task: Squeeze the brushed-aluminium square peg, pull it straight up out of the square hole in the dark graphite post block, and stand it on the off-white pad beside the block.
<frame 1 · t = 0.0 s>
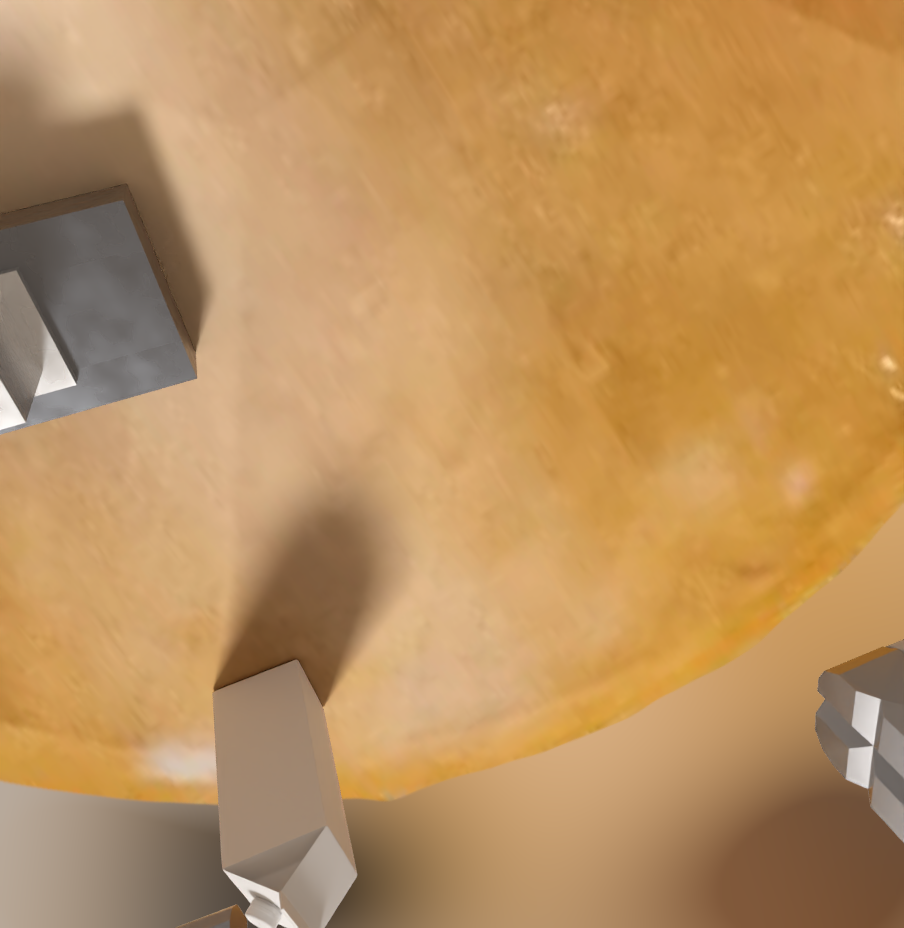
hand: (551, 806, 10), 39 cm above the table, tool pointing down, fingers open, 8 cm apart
post block: (16, 312, 41), on the table
milk carton: (269, 697, 62), on the table
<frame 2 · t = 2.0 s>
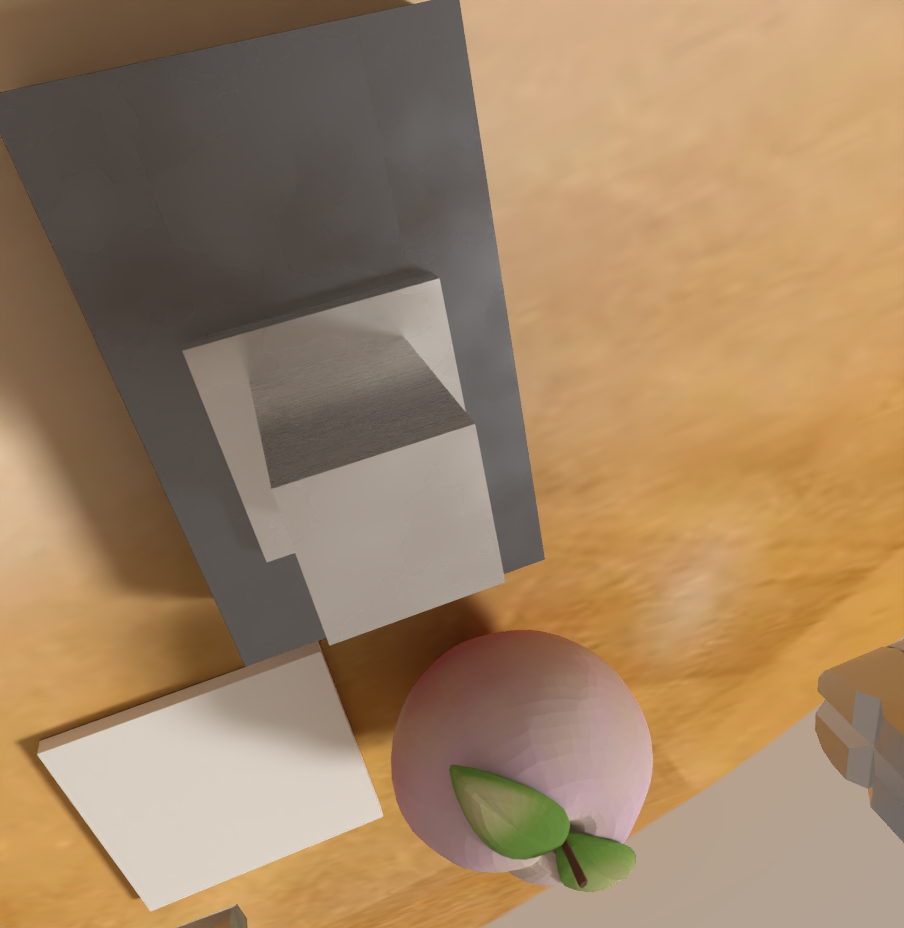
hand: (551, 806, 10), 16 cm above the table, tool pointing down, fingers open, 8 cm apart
pad: (229, 776, 29), on the table
peg: (324, 375, 23), resting in post block
decorative fruit: (477, 651, 31), on the table
post block: (314, 344, 23), on the table
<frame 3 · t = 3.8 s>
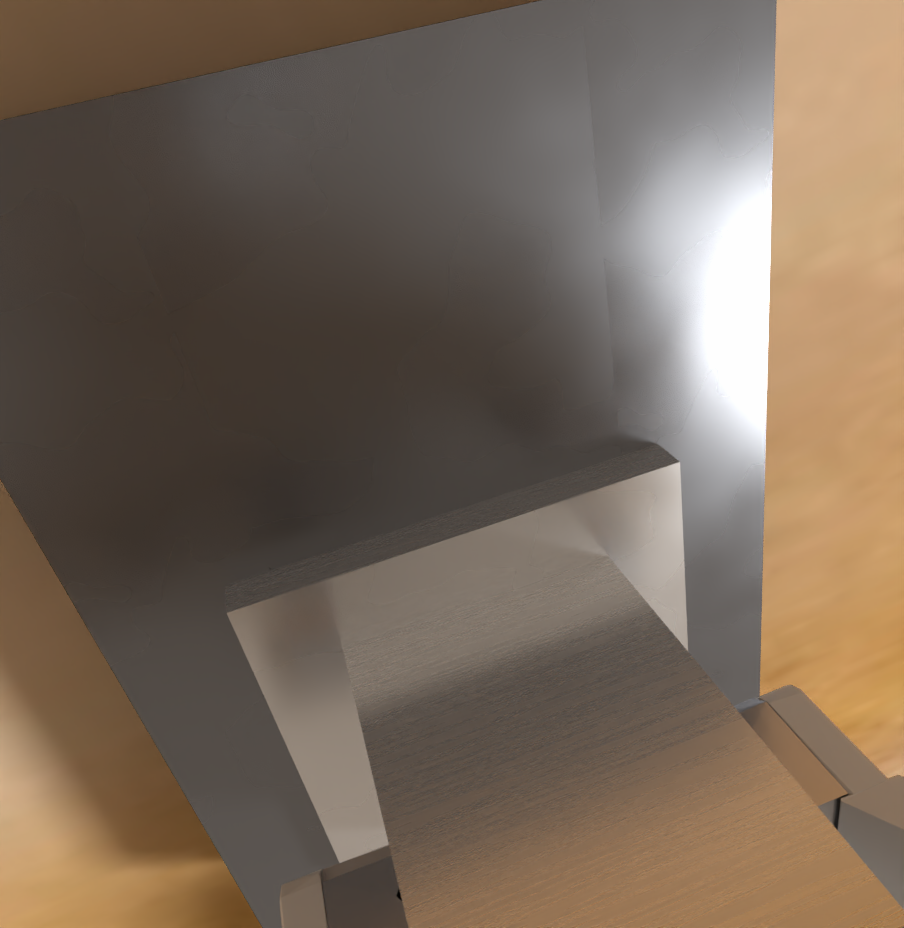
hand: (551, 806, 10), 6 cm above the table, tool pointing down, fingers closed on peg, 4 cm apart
peg: (434, 557, 15), resting in post block, touching gripper
post block: (423, 514, 15), on the table
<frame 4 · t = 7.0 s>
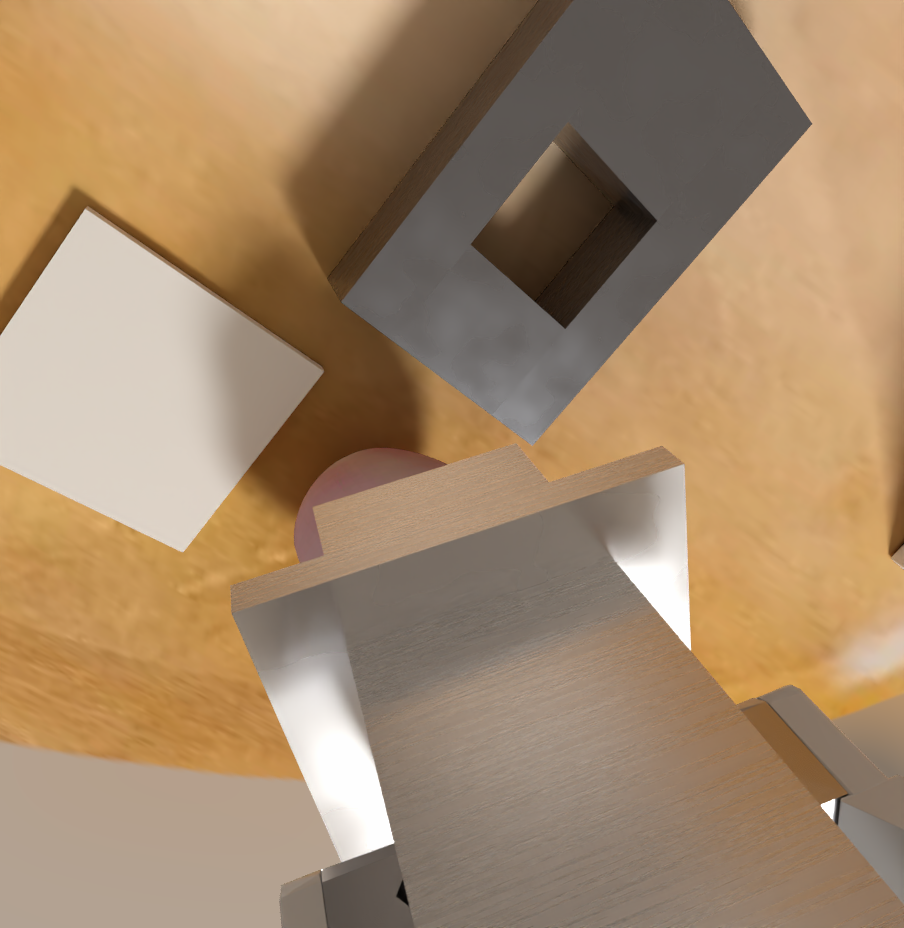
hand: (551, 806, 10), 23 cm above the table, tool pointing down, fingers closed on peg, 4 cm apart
pad: (141, 395, 29), on the table
peg: (437, 558, 15), point 17 cm above the table, touching gripper
decorative fruit: (376, 494, 34), on the table
post block: (547, 196, 30), on the table
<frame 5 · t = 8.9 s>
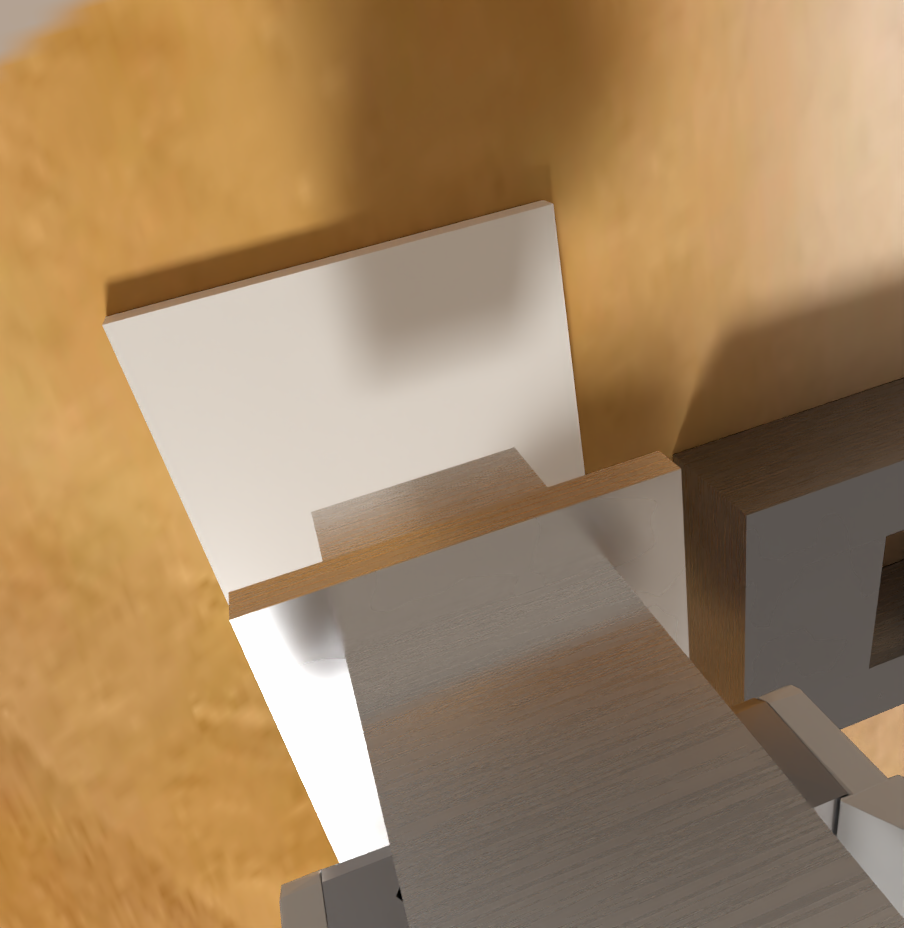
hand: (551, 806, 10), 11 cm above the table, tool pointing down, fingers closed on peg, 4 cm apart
pad: (386, 448, 19), on the table
peg: (436, 562, 15), point 5 cm above the table, touching gripper
post block: (889, 509, 26), on the table
when the fingers open (8 cm above the table, at t = 10.2 s): peg drops 1 cm, resting on pad.
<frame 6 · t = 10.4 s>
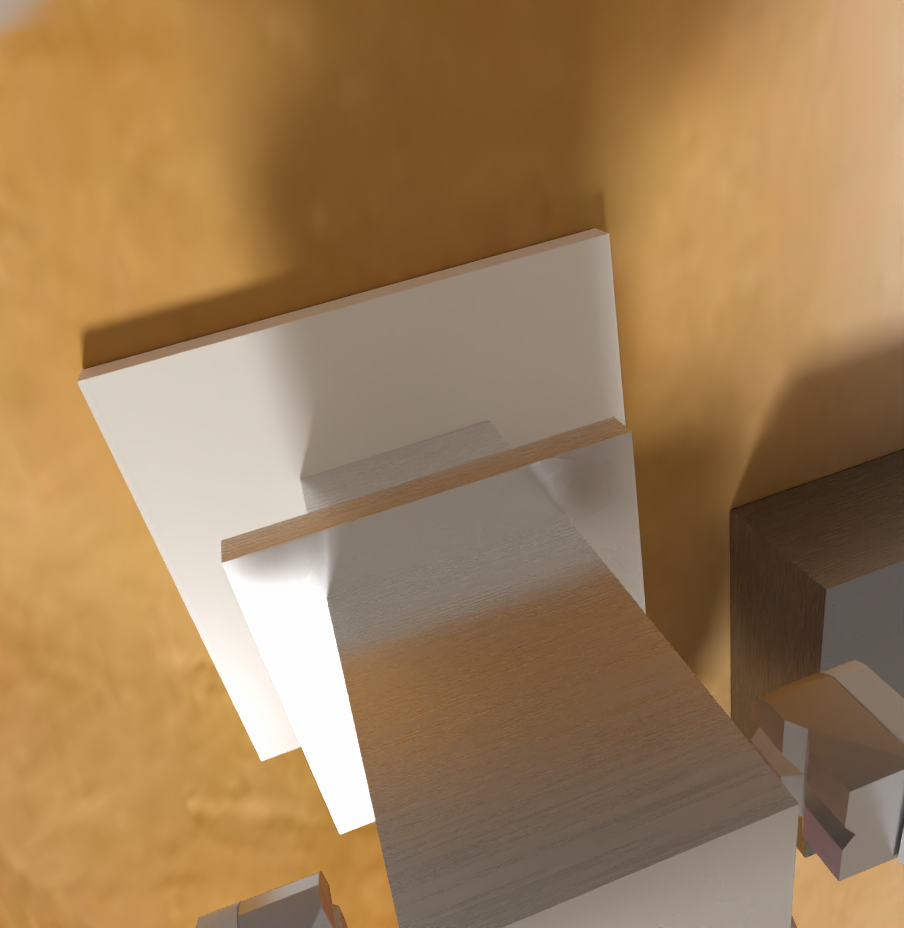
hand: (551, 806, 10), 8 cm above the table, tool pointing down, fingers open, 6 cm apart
pad: (410, 511, 17), on the table
peg: (417, 528, 16), point 1 cm above the table, touching pad
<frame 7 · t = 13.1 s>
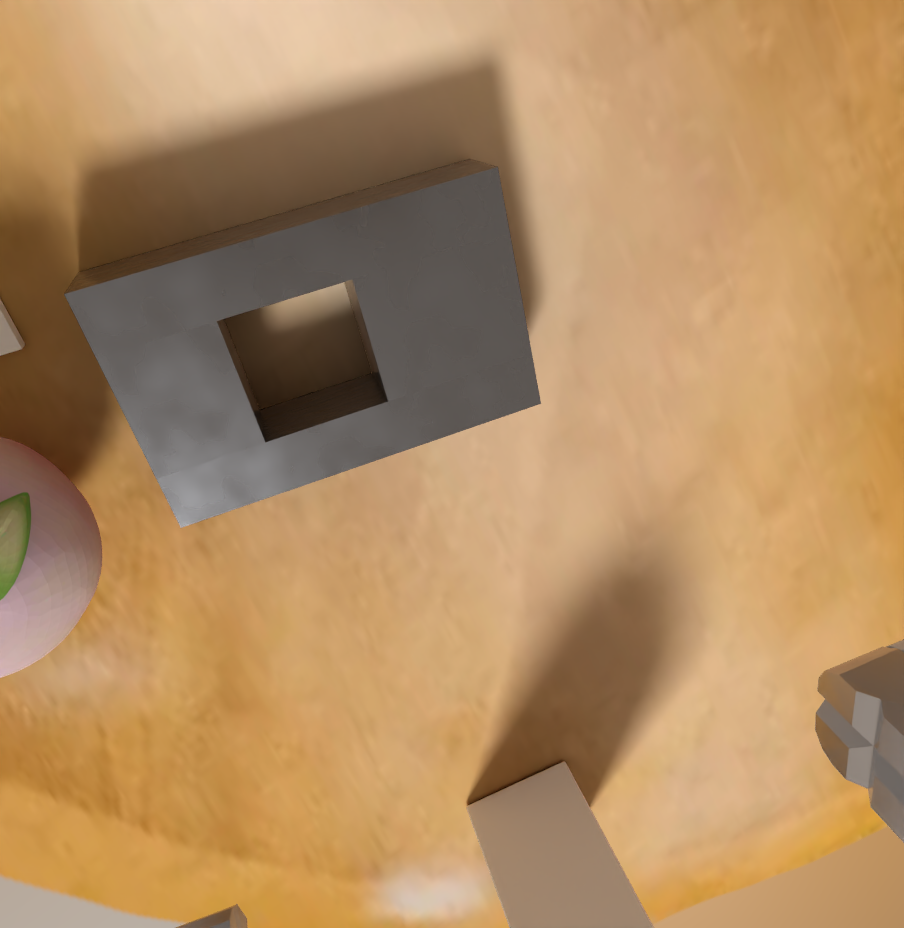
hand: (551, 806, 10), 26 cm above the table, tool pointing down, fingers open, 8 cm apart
decorative fruit: (9, 494, 32), on the table
post block: (320, 330, 32), on the table
milk carton: (525, 810, 51), on the table
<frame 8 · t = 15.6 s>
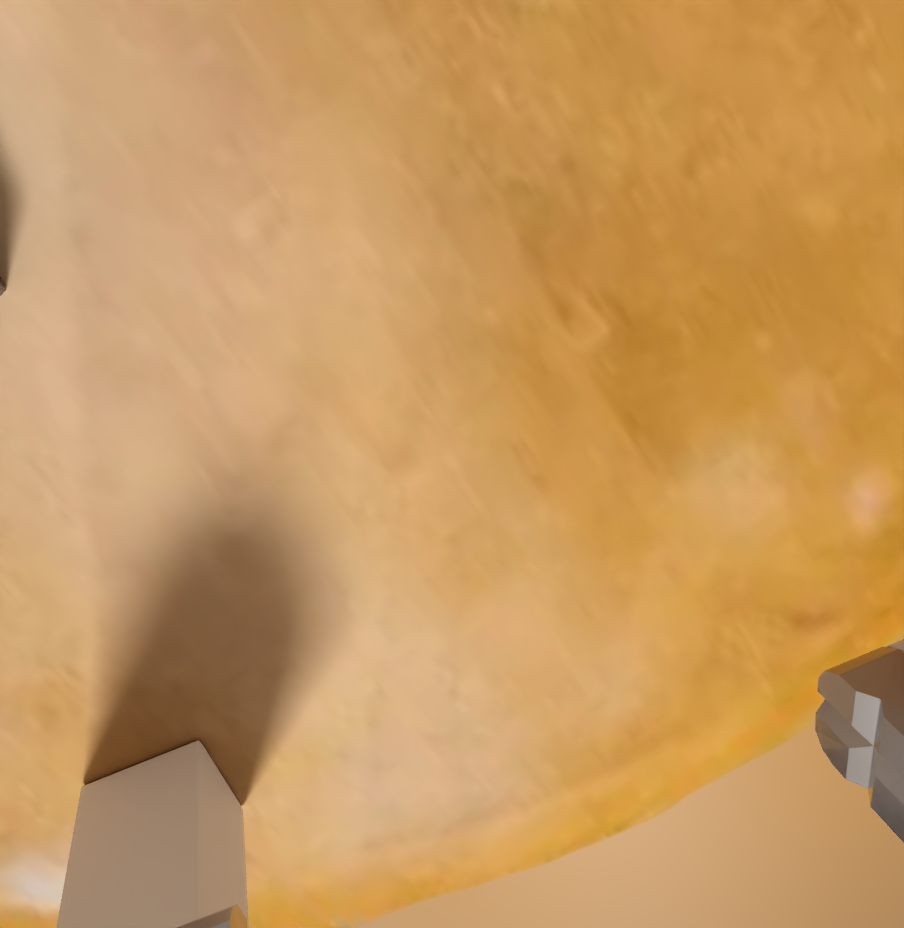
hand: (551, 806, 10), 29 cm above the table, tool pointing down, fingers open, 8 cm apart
milk carton: (166, 793, 46), on the table
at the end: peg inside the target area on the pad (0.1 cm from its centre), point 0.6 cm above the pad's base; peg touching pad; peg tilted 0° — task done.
